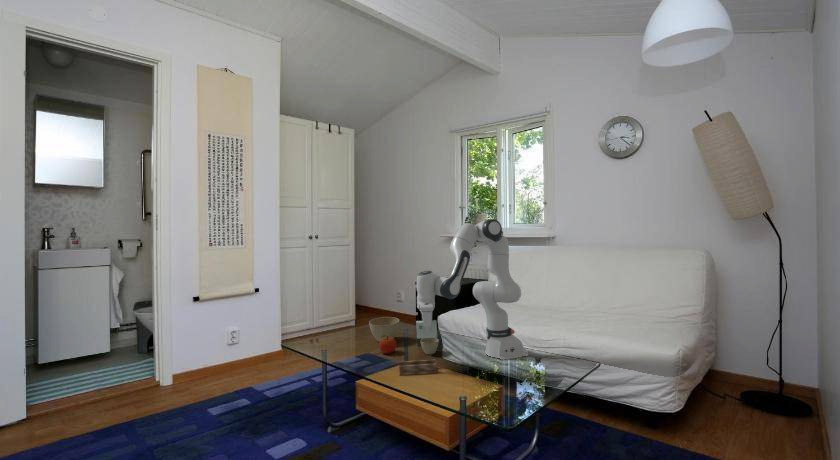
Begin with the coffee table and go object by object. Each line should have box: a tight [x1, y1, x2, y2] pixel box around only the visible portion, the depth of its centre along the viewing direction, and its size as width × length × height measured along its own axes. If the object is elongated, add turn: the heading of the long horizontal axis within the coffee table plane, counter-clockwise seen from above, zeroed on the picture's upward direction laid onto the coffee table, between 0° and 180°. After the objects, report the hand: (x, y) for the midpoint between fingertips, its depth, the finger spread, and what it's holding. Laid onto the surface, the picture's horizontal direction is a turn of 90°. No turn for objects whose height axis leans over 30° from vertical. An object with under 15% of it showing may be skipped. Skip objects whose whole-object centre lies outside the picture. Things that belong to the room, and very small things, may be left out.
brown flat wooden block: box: [398, 358, 438, 376], centre depth 218 cm, size 18×8×4 cm, turn 93°
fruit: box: [378, 335, 397, 355], centre depth 245 cm, size 10×10×10 cm
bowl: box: [420, 337, 440, 355], centre depth 242 cm, size 10×10×7 cm
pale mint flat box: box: [415, 319, 438, 339], centre depth 221 cm, size 10×3×8 cm, turn 92°
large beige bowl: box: [368, 316, 400, 343], centre depth 266 cm, size 18×18×12 cm
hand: (426, 331), depth 221 cm, fingers closed on pale mint flat box, 3 cm apart
